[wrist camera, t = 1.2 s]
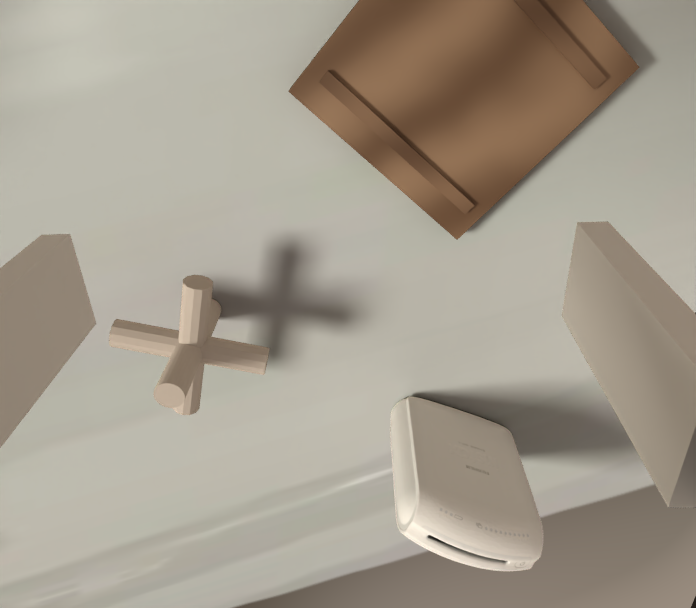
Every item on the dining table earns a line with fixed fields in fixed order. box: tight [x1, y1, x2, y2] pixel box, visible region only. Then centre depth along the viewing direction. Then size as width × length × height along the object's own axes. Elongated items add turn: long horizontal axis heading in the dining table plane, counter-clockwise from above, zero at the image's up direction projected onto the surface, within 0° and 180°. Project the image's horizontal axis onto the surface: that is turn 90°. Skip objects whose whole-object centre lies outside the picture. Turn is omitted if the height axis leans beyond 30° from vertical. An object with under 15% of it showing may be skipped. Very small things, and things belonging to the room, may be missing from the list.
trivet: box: [289, 0, 639, 239], centre depth 34 cm, size 14×14×2 cm
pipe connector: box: [109, 275, 270, 415], centre depth 38 cm, size 10×10×10 cm
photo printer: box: [390, 396, 543, 571], centre depth 42 cm, size 10×4×12 cm, turn 68°
